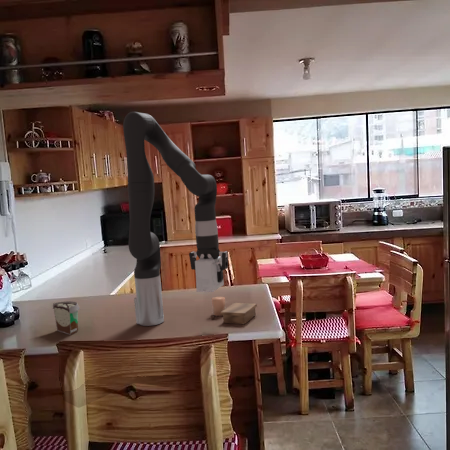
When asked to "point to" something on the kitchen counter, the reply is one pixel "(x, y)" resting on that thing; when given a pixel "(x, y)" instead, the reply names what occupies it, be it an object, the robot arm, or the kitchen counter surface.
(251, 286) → the kitchen counter surface
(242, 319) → the stand
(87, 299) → the kitchen counter surface
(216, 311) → the peach rounded knob
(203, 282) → the skincare box
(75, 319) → the food container
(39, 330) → the kitchen counter surface
